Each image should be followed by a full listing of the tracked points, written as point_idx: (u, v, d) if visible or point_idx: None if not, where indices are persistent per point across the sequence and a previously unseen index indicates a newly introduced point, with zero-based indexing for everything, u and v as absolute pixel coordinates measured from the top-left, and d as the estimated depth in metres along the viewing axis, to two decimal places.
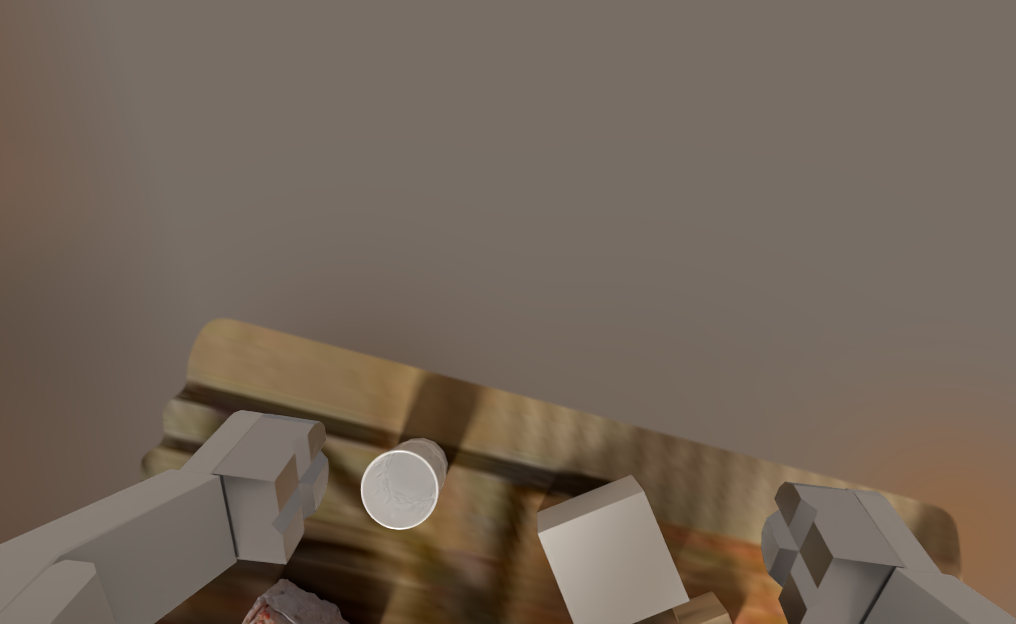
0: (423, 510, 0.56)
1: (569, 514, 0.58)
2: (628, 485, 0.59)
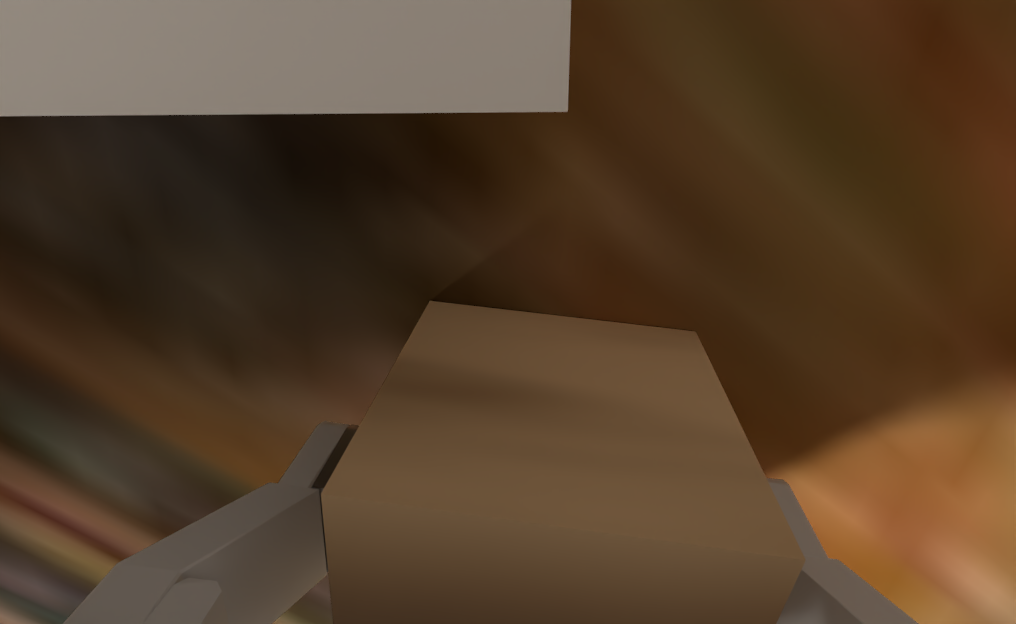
0: None
1: None
2: None
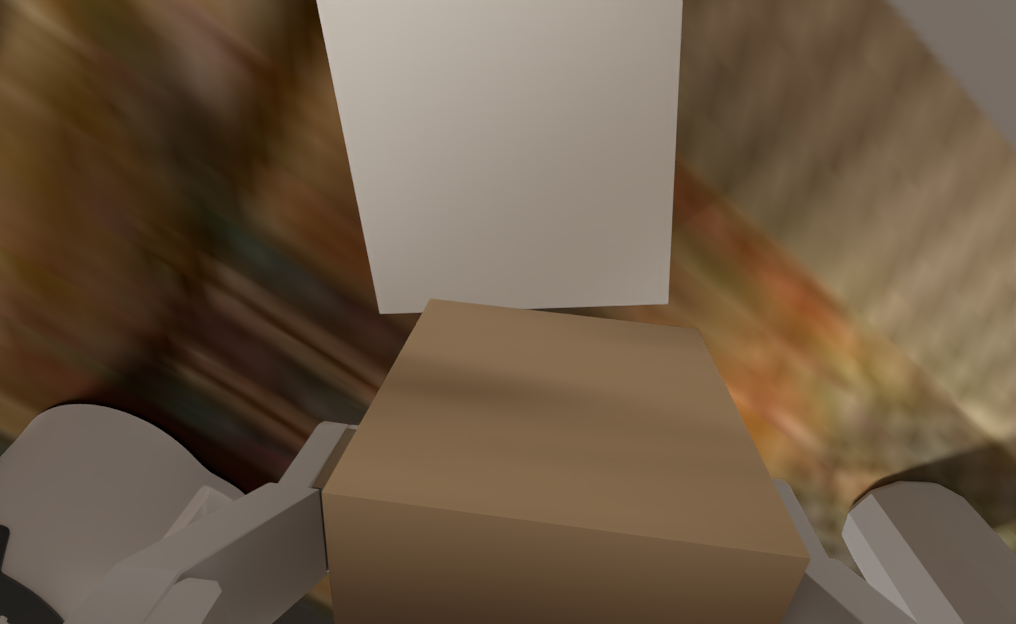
0: None
1: None
2: None
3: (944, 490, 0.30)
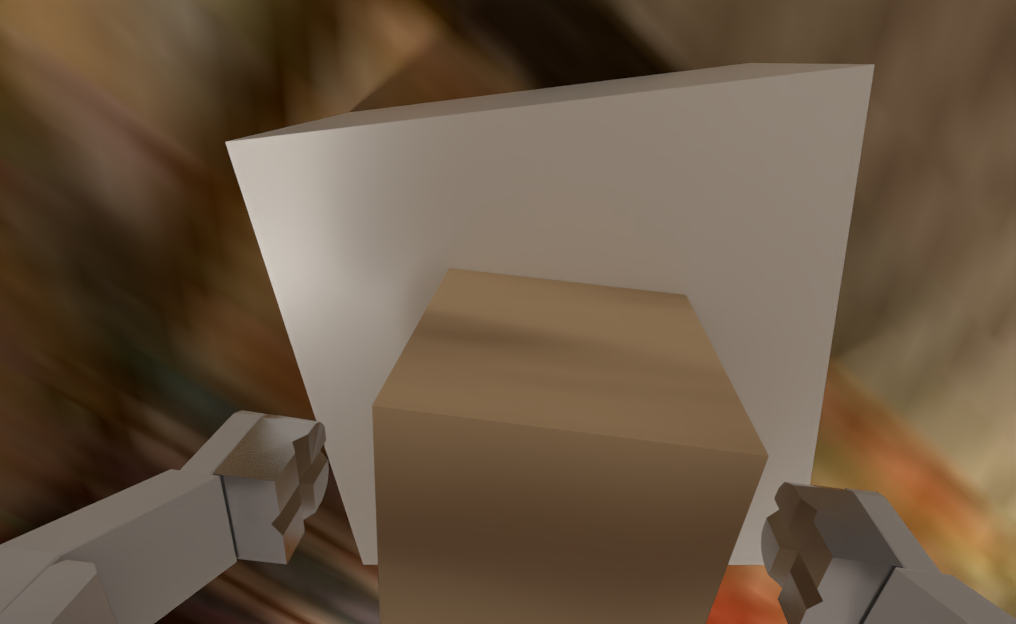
0: None
1: (428, 111, 0.12)
2: (749, 68, 0.12)
3: None
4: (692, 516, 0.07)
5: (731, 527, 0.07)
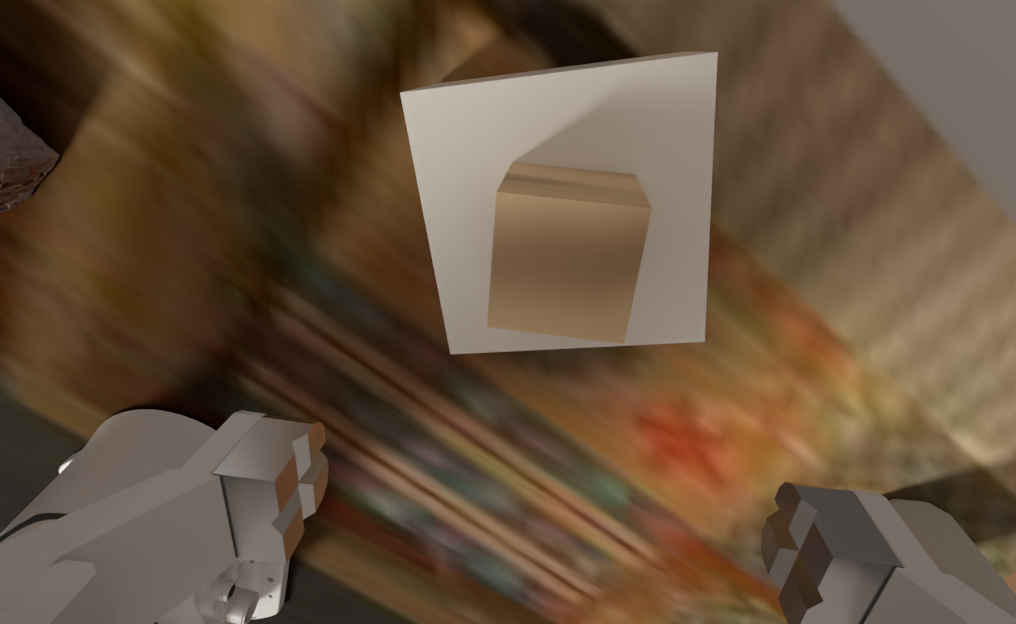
0: None
1: (499, 78, 0.22)
2: (673, 54, 0.22)
3: (934, 509, 0.34)
4: (624, 240, 0.17)
5: (640, 245, 0.17)
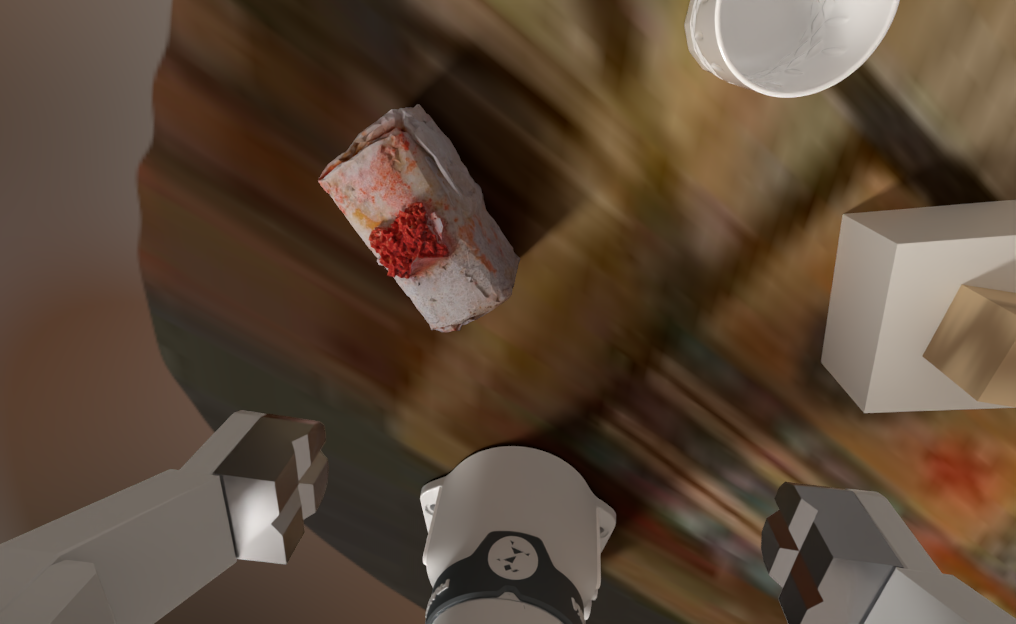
0: (778, 83, 0.28)
1: (946, 228, 0.32)
2: None
3: None
4: None
5: None
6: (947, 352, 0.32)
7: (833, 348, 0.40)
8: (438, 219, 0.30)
